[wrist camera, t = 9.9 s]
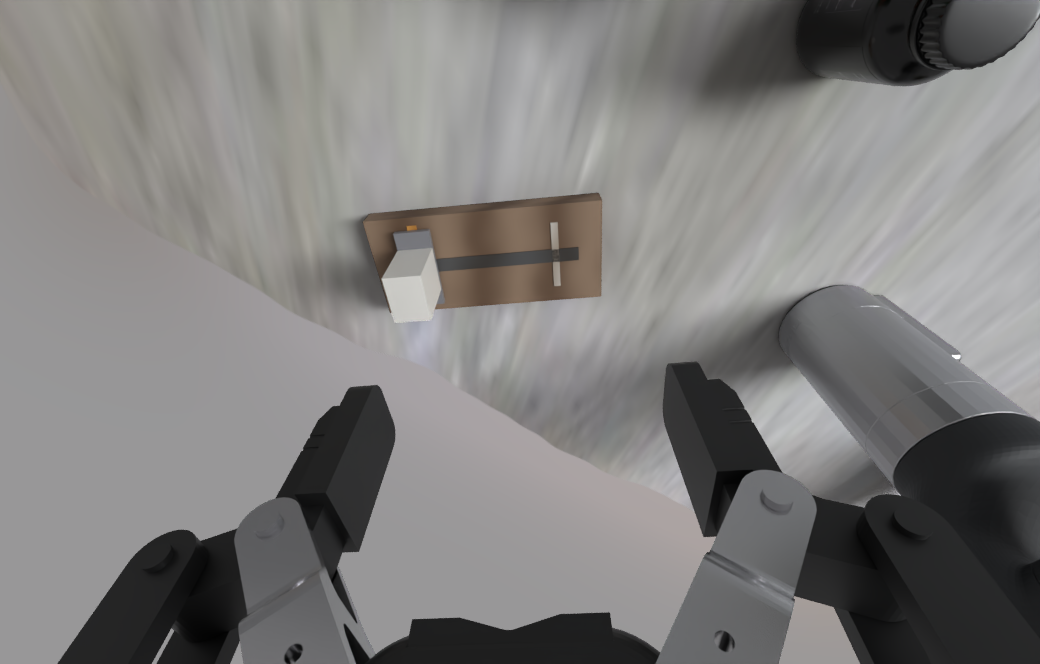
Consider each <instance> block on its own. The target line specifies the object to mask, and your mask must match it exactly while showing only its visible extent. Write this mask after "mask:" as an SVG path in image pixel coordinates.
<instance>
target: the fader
mask: <svg viewBox="0 0 1040 664" xmlns="http://www.w3.org/2000/svg"><path fill="white" fill-rule="evenodd" d="M393 235H394V239H395V243H396V247H397V250H398V251H397V253H396V254H395V256H394V258H393V260H392V261H391V263H390V265H389V267H388V268H387V270H386V272H385V274H384V275H383V277H382V282H383V285H384V289H385V292H386V295H387V299H388V302H389V305H390V309H391V312H392V315H393V319H394V322H395V323H402V322H415V321H428V320H432V317H433V313H434V310H435V307H436V304H444V303H445V298H444V293H443V289H442V284H441V279H440V275H439V270H438V265H437V261H436V256H435V252H434V247H433V242H432V238H431V233H430V229H422V230H410V231H399V232H394V234H393Z"/></svg>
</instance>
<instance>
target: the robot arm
mask: <svg viewBox="0 0 1040 664" xmlns="http://www.w3.org/2000/svg"><path fill="white" fill-rule="evenodd" d="M779 343H780V345H781V348H782V350H783V351H784V352H785V353H786V355H787V356H788V357H789V358H790V359H791V361H792V362H793V363H794V364H795V366H796V367H797V368H798V369H799V370H800V372H801V373H802V374H803V376H804V377H805V378H806V379H807V381H808V382H809V383H810V384H811V386H812V387H813V388H814V389H815V390H816V392H817V393H818V394H819V395H820V397H821V398H822V399H823V400H824V401H825V403H826V404H827V405H828V406H829V408H830V409H831V410H832V411H833V413H834V414H835V415H836V416H837V417H838V419H839V420H840V421H841V422H842V424H843V425H844V426H845V427H846V429H847V430H848V431H849V432H850V433H851V435H852V436H853V437H854V438H855V440H856V441H857V442H858V443H859V445H860V446H861V447H862V448H863V449H864V451H865V452H866V453H867V454H868V456H869V457H870V458H871V459H872V460H873V462H874V463H875V464H876V465H877V466H878V468H879V469H880V470H881V471H882V473H883V474H884V475H885V476H886V477H887V479H888V480H889V481H890V482H891V484H892V485H893V486H894V487H895V489H896V490H897V491H898V492H899V493H900V495H901V496H899V495H891V494H886V495H879V496H876V497H874V498H872V499H870V500H869V501H868V503H867V504H866V506H865V508H863V507H858V506H854V505H849V504H844V503H839V502H834V501H830V500H826V499H822V498H819V497H816V496H813V495H811V493H810V492H809V491H808V489H807V488H806V487H805V486H804V485H803V484H801V483H800V482H799V481H797V480H796V479H794V478H792V477H790V476H788V475H786V474H784V473H782V471H781V470H780V468H779V466H778V465H777V463H776V461H775V459H774V458H773V456H772V454H771V452H770V451H769V449H768V447H767V445H766V444H765V442H764V440H763V439H762V437H761V435H760V433H759V432H758V430H757V428H756V426H755V425H754V423H752V421H751V418H750V416H749V414H748V413H747V411H746V410H745V409H744V406H743V404H742V402H741V400H740V399H739V397H738V395H737V393H736V392H735V391H734V390H733V389H731V388H730V387H729V386H728V385H726V384H725V383H724V382H723V381H721V380H720V379H714V380H707V378H706V376H705V374H704V373H703V371H702V369H701V367H700V365H699V363H698V362H684V363H671V364H668V365H667V367H666V376H665V387H664V399H663V417H664V423H665V427H666V430H667V433H668V436H669V439H670V442H671V444H672V447H673V450H674V453H675V456H676V459H677V462H678V465H679V468H680V470H681V473H682V476H683V479H684V482H685V485H686V488H687V491H688V493H689V496H690V499H691V502H692V505H693V508H694V511H695V514H696V516H697V519H698V522H699V525H700V528H701V531H702V534H703V536H704V537H714V536H717V537H716V539H715V541H714V544H713V546H712V548H711V550H710V552H709V553H708V552H707V553H706V554H705V556H704V558H703V560H702V562H701V564H700V566H699V568H698V570H697V573H696V575H695V577H694V579H693V582H692V584H691V586H690V588H689V591H688V593H687V595H686V597H685V600H684V602H683V604H682V606H681V608H680V610H679V613H678V615H677V617H676V619H675V622H674V624H673V626H672V628H671V630H670V633H669V635H668V637H667V639H666V642H665V644H664V646H663V648H662V651H661V653H660V652H659V651H658V650H656V649H655V648H654V647H652V646H651V645H649V644H648V643H647V642H645V641H643V640H641V639H639V638H638V637H636V636H634V635H632V634H629V633H627V632H625V631H621V630H618V629H615V628H612V625H611V618H610V613H582V614H559V615H556V616H553V617H550V618H547V619H544V620H541V621H538V622H535V623H532V624H529V625H526V626H523V627H520V628H517V629H514V630H503V629H499V628H496V627H492V626H488V625H484V624H480V623H477V622H473V621H470V620H466V619H462V618H438V619H413V620H412V624H411V629H410V634H409V636H407V637H404V638H402V639H400V640H398V641H396V642H394V643H392V644H390V645H389V646H387V647H385V648H384V649H382V650H381V651H380V652H378V653H377V654H375V652H374V650H373V648H372V646H371V644H370V642H369V640H368V638H367V636H366V634H365V632H364V630H363V627H362V625H361V622H360V620H359V617H358V615H357V612H356V609H355V607H354V604H353V602H352V599H351V597H350V594H349V592H348V589H347V586H346V584H345V581H344V579H343V576H342V574H341V571H340V569H339V567H338V563H339V560H340V557H341V554H342V552H359V550H360V547H361V544H362V541H363V538H364V535H365V531H366V528H367V526H368V523H369V520H370V517H371V513H372V510H373V507H374V504H375V501H376V498H377V495H378V492H379V489H380V486H381V483H382V480H383V477H384V474H385V471H386V468H387V465H388V462H389V459H390V456H391V453H392V450H393V447H394V442H395V426H394V422H393V420H392V417H391V414H390V412H389V409H388V406H387V404H386V401H385V398H384V396H383V393H382V391H381V389H380V387H379V386H378V385H371V386H358V387H351V388H349V389H348V391H347V392H346V394H345V396H344V399H343V400H342V402H341V404H340V406H333V407H332V408H331V409H329V411H327V412H326V413H325V414H324V415H323V416H322V417H321V418H320V419H319V420H318V422H317V424H316V426H315V427H314V429H313V431H312V433H311V435H310V438H309V439H308V440H307V442H306V444H305V446H304V447H303V449H304V450H303V451H301V453H300V455H299V457H298V458H297V460H296V462H295V464H294V466H293V468H292V469H291V471H290V473H289V475H288V477H287V479H286V481H285V482H284V484H283V486H282V488H281V490H280V491H279V493H278V495H277V497H276V498H275V499H273V500H270V501H268V502H265V503H263V504H261V505H260V506H258V507H257V508H255V509H254V510H253V511H251V512H250V513H249V514H248V515H247V516H246V517H245V518H244V519H243V521H242V522H241V523H240V525H239V527H238V529H235V530H232V531H229V532H226V533H223V534H220V535H217V536H214V537H212V538H208V539H205V540H202V541H200V540H199V539H198V538H197V537H196V536H195V535H194V534H193V533H192V532H190V531H188V530H176V531H172V532H168V533H166V534H164V535H161V536H159V537H157V538H156V539H154V540H152V541H151V542H150V543H148V544H147V545H145V546H144V547H143V548H142V549H141V550H140V551H138V552H137V553H136V554H135V556H134V557H133V558H132V559H131V560H130V562H129V563H128V564H127V566H126V567H125V568H124V570H123V571H122V573H121V574H120V575H119V577H118V578H117V580H116V581H115V583H114V584H113V585H112V587H111V588H110V590H109V591H108V592H107V594H106V595H105V597H104V598H103V600H102V601H101V602H100V604H99V606H98V607H97V608H96V610H95V611H94V612H93V614H92V615H91V617H90V618H89V620H88V621H87V622H86V624H85V625H84V627H83V628H82V630H81V631H80V632H79V634H78V635H77V637H76V638H75V639H74V641H73V642H72V644H71V645H70V647H69V648H68V649H67V651H66V652H65V654H64V655H63V657H62V658H61V660H60V661H59V662H58V664H152V662H153V660H154V658H155V657H156V655H157V653H158V651H159V649H160V648H161V646H162V644H163V642H164V640H165V638H166V637H167V635H168V633H169V631H170V629H171V628H172V629H173V630H174V633H173V634H172V636H171V638H170V640H169V642H168V644H167V645H166V647H165V649H164V651H163V653H162V655H161V657H160V658H159V660H158V662H157V664H230V662H231V660H232V658H233V655H234V653H235V651H236V648H237V646H238V644H239V641H240V644H241V651H242V657H243V663H244V664H779V660H780V656H781V652H782V649H783V645H784V641H785V638H786V634H787V630H788V626H789V622H790V619H791V615H792V611H793V607H794V601H795V599H793V597H794V596H796V597H800V598H804V599H807V600H811V601H814V602H818V603H822V604H825V605H828V606H832V607H834V609H835V611H836V613H837V615H838V617H839V619H840V622H841V624H842V626H843V628H844V630H845V632H846V634H847V636H848V638H849V641H850V642H851V645H852V647H853V649H854V651H855V653H856V656H857V657H858V660H859V662H860V664H1040V422H1039V421H1038V420H1036V419H1035V418H1034V417H1032V416H1031V415H1030V414H1028V413H1027V412H1026V411H1024V410H1023V409H1022V408H1021V407H1019V406H1018V405H1017V404H1015V403H1014V402H1013V401H1011V400H1010V399H1009V398H1007V397H1006V396H1005V395H1003V394H1002V393H1001V392H999V391H998V390H997V389H995V388H994V387H992V386H991V385H990V384H988V383H987V382H986V381H985V380H983V379H982V378H981V377H979V376H978V375H977V374H975V373H974V372H973V371H971V370H970V369H969V368H967V367H966V366H965V365H963V364H962V363H961V362H960V360H961V354H960V352H959V351H958V350H956V349H955V348H954V347H952V346H951V345H950V344H948V343H947V342H946V341H944V340H943V339H942V338H940V337H939V336H937V335H936V334H935V333H933V332H932V331H931V330H929V329H928V328H927V327H925V326H924V325H922V324H921V323H920V322H918V321H917V320H916V319H914V318H913V317H912V316H910V315H909V314H907V313H906V312H905V311H903V310H902V309H901V308H899V307H898V306H897V305H895V304H894V303H893V302H891V301H890V300H888V299H887V298H886V297H884V296H882V295H881V296H873V295H871V294H870V293H868V292H867V291H865V290H864V289H862V288H859V287H856V286H849V285H841V286H833V287H829V288H825V289H822V290H820V291H817V292H815V293H813V294H811V295H809V296H808V297H806V298H804V299H803V300H802V301H800V302H799V303H798V304H796V305H795V306H794V307H793V308H792V309H791V311H790V312H789V313H788V314H787V316H786V317H785V319H784V320H783V322H782V325H781V327H780V331H779Z"/></svg>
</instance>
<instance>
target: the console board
mask: <svg viewBox="0 0 1040 664" xmlns="http://www.w3.org/2000/svg"><path fill="white" fill-rule="evenodd" d="M363 224H364V228H365V231H366V234H367V238H368V241H369V244H370V248H371V251H372V254H373V258H374V261H375V264H376V268H377V271H378V274H379V277H380V281H381V284H382V287H383V291H384V294H385V297H386V301H387V304H388V307H389V311H390V313H392V312H391V309H390V305H389V302H388V299H387V295H386V292H385V289H384V285H383V282H382V277H383V275H384V274H385V272H386V270H387V268H388V267H389V265H390V263H391V261H392V260H393V258H394V256H395V254H396V253H397V251H398V250H397V247H396V243H395V239H394V235H393V234H394V232H399V231H410V230H422V229H430V233H431V238H432V242H433V247H434V252H435V256H436V261H437V265H438V270H439V275H440V279H441V284H442V289H443V293H444V298H445V303H444V304H436V307H435V309H445V308H458V307H471V306H483V305H496V304H509V303H522V302H535V301H547V300H560V299H573V298H586V297H598V296H601V262H602V199H601V197H600V195H599V193H591V194H581V195H570V196H559V197H548V198H537V199H526V200H515V201H504V202H493V203H482V204H471V205H460V206H450V207H439V208H428V209H417V210H406V211H395V212H384V213H373V214H369V215H368V216H367V217H366V219H365V220H364V221H363Z"/></svg>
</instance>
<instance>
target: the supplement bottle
mask: <svg viewBox="0 0 1040 664" xmlns="http://www.w3.org/2000/svg"><path fill="white" fill-rule="evenodd" d="M1039 18H1040V0H808V1H807V3H806V5H805V7H804V9H803V11H802V14H801V17H800V20H799V23H798V28H797V35H796V45H797V51H798V54H799V57H800V59H801V61H802V63H803V64H804V66H805V67H806V68H807V69H808V70H809V71H811V72H812V73H814V74H816V75H819V76H822V77H827V78H833V79H841V80H849V81H858V82H866V83H875V84H883V85H891V86H914V85H919V84H923V83H927V82H929V81H932V80H935V79H937V78H939V77H941V76H943V75H945V74H947V73H948V72H950V71H952V70H962V69H967V70H970V69H973V68H976V67H983V66H984V65H986V64H987V63H992V62H994V61H995V60H997V59H998V58H1000V57H1003V56H1004V55H1005V54H1006V53H1007V52H1008V51H1010V50H1012V49H1014V48H1015V47H1016V45H1017V44H1018V43H1019V42H1020V41H1022V40H1023V39H1024V38H1025V37H1026V35H1027V33H1028V32H1029V31H1030V30H1032V29H1033V27H1034V25H1035V23H1036V21H1037V20H1038V19H1039Z"/></svg>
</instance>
